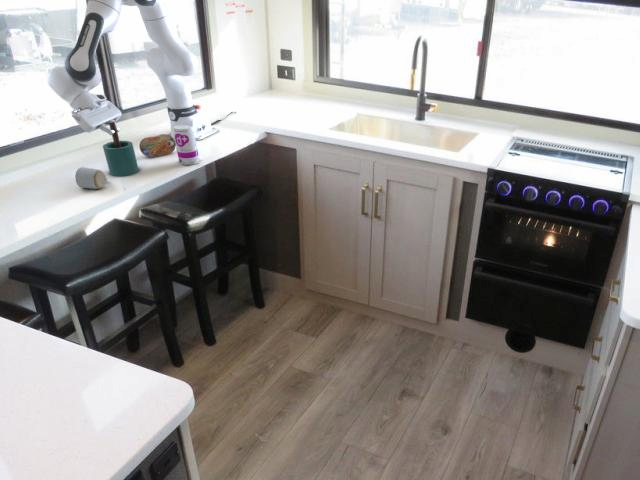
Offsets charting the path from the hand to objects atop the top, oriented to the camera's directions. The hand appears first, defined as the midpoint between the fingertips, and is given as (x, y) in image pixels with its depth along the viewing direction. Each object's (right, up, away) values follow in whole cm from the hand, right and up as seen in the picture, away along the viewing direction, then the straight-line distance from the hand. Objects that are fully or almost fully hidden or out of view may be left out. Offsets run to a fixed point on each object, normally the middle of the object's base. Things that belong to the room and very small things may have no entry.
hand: (115, 132), depth 225 cm
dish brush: (-1, -10, +6) cm, 12 cm away
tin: (+6, -2, +26) cm, 27 cm away
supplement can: (+22, -7, +19) cm, 30 cm away
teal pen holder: (-1, -13, +9) cm, 16 cm away
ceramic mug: (-5, -22, -5) cm, 23 cm away
